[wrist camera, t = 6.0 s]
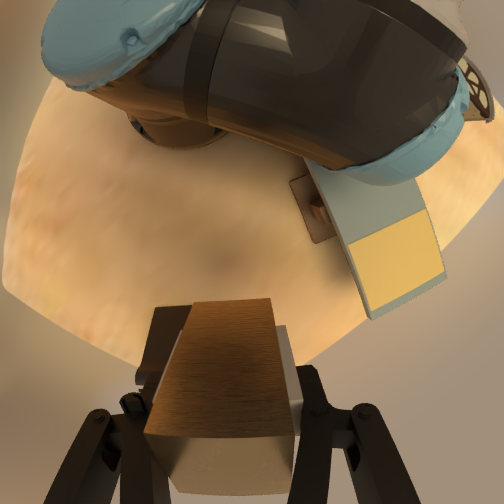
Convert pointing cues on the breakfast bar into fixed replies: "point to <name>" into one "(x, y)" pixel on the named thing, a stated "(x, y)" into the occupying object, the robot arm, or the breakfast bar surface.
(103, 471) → the robot arm
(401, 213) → the beam
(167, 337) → the phone stand
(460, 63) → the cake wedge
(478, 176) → the breakfast bar surface
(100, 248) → the breakfast bar surface
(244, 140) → the breakfast bar surface
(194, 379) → the wooden block
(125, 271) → the breakfast bar surface
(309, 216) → the beam stand
